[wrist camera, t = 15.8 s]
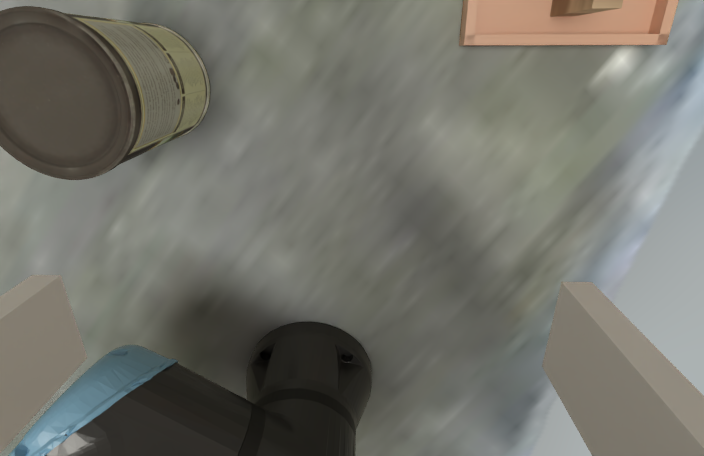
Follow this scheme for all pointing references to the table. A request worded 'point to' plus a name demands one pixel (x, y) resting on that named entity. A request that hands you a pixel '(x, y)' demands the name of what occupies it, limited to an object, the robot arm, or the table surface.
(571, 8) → the tan wooden piece
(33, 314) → the robot arm
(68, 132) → the coffee can
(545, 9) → the tray
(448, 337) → the table surface
